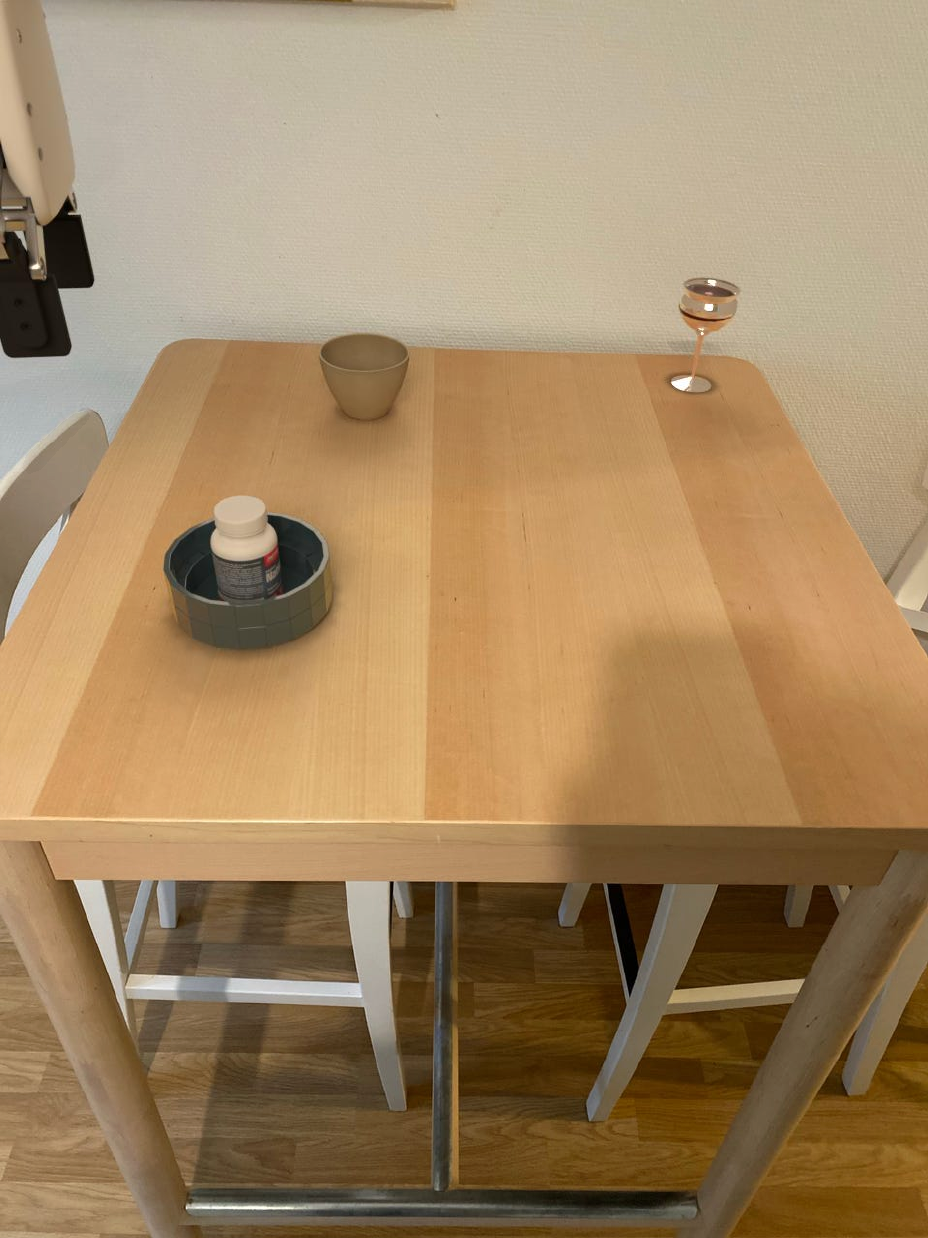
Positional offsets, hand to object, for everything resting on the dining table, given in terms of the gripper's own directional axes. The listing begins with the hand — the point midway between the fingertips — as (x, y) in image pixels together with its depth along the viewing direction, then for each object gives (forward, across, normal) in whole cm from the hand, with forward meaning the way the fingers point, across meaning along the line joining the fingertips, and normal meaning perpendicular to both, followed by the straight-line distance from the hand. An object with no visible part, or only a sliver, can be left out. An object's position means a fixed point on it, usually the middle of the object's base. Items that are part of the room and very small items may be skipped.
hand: (54, 318), depth 50 cm
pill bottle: (+28, -9, +8) cm, 30 cm away
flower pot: (+28, -43, +21) cm, 56 cm away
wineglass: (+28, -46, +62) cm, 82 cm away
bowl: (+28, -9, +8) cm, 31 cm away
